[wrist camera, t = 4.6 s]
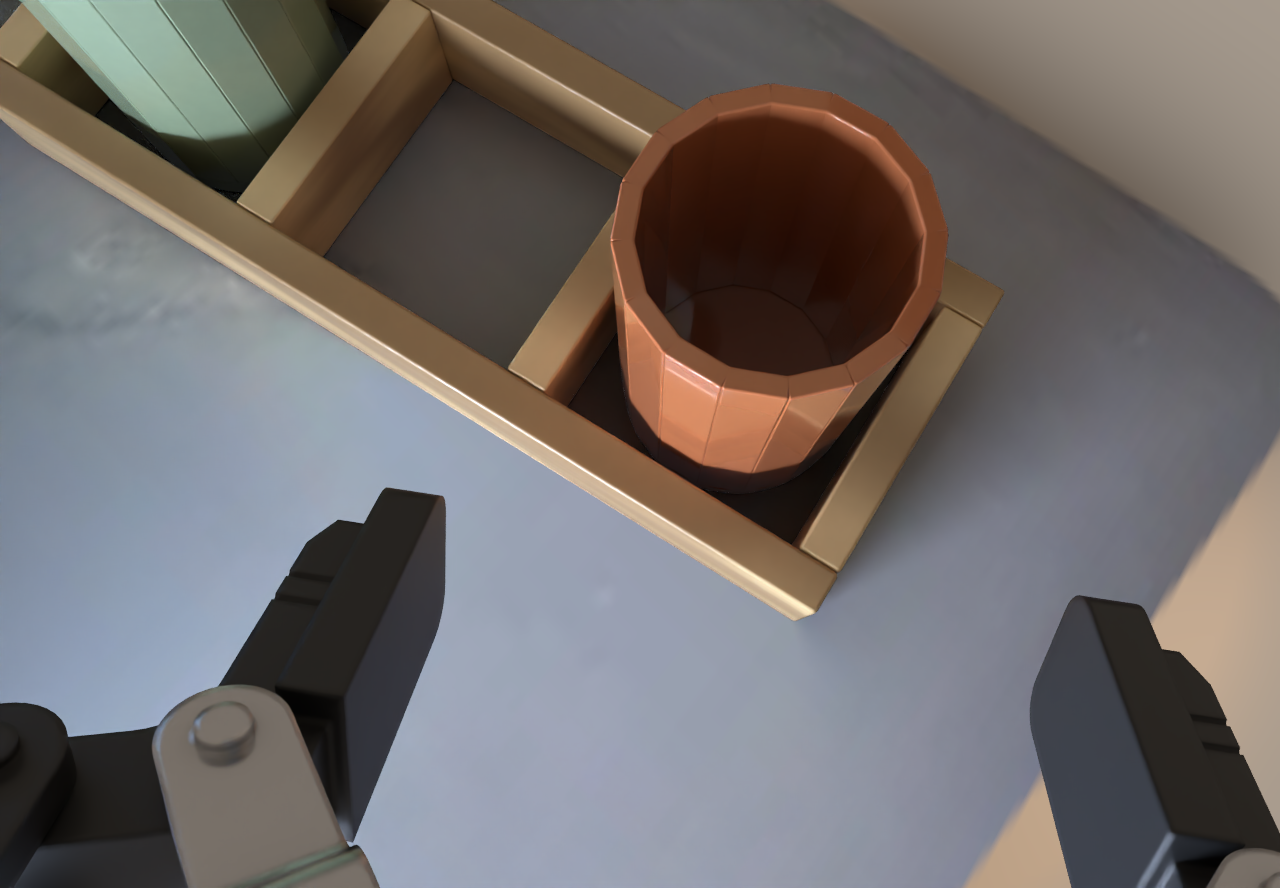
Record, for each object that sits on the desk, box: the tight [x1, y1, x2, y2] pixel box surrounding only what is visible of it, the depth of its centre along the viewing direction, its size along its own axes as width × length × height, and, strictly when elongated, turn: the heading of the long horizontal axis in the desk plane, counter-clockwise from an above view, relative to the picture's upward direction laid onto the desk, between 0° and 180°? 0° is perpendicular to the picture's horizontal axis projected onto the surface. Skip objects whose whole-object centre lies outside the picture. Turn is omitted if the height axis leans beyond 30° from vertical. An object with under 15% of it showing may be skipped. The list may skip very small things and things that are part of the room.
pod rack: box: [0, 0, 1004, 621], centre depth 26 cm, size 8×23×3 cm, turn 58°
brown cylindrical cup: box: [610, 84, 949, 494], centre depth 22 cm, size 5×5×9 cm
